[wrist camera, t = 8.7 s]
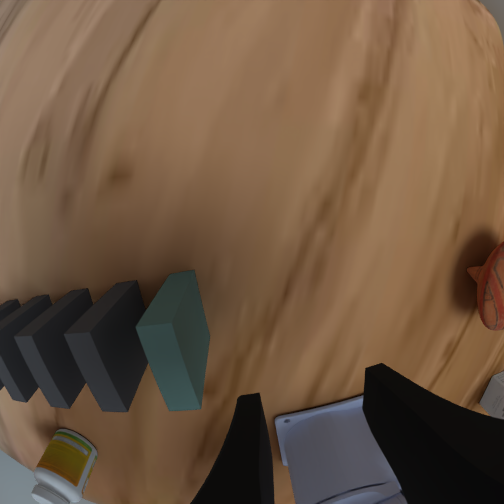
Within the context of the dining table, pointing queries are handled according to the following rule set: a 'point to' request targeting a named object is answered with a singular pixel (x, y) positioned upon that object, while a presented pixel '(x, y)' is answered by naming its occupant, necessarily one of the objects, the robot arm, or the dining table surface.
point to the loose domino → (177, 341)
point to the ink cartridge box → (494, 396)
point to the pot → (491, 289)
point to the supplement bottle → (64, 469)
